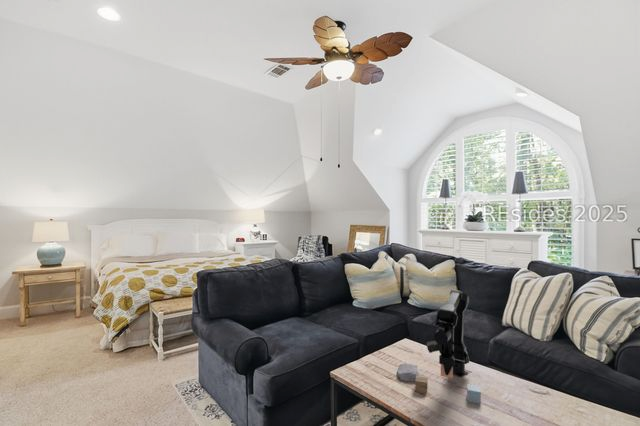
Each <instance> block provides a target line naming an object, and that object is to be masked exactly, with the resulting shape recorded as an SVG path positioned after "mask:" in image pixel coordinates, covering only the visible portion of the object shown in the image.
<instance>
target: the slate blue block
mask: <svg viewBox="0 0 640 426" xmlns="http://www.w3.org/2000/svg"><path fill="white" fill-rule="evenodd" d="M466 397H467V398H466V399H467V402H470V403H474V404H479V405H480V404H481V403H482V400H481V399H482V391H481V387H480V386H479V385H475V384H474V385H472V384H470V383H469V384H468V383H467V384H466Z"/></svg>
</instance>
